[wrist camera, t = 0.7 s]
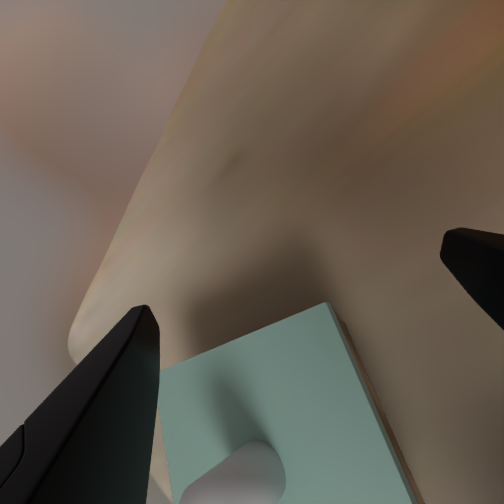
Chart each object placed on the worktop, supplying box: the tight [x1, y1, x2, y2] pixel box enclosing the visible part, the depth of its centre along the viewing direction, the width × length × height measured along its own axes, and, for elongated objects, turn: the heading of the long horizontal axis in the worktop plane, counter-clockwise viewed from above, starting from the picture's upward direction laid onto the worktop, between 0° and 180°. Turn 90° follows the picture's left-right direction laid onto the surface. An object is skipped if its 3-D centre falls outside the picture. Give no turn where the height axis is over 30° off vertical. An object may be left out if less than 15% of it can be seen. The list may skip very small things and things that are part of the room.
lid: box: [158, 302, 418, 504], centre depth 14 cm, size 15×15×6 cm
